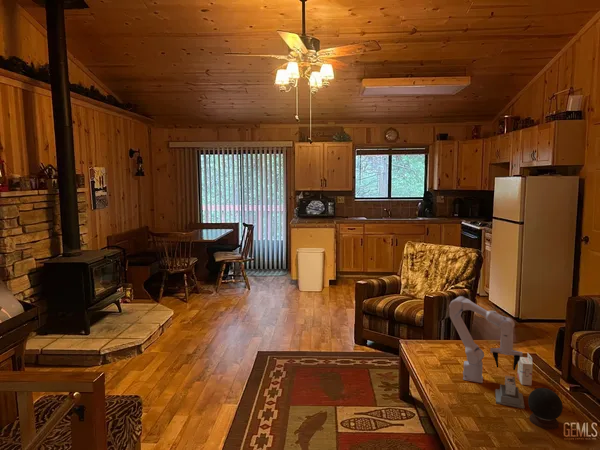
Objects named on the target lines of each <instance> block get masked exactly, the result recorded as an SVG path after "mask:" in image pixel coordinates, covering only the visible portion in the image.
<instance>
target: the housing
mask: <svg viewBox="0 0 600 450" xmlns="http://www.w3.org/2000/svg"><path fill="white" fill-rule="evenodd" d="M504 379H505V380H504V385H505V393H506V395H511V396H515V388H516V387H517V384H516V377H515V376H512V375H505V376H504Z"/></svg>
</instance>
